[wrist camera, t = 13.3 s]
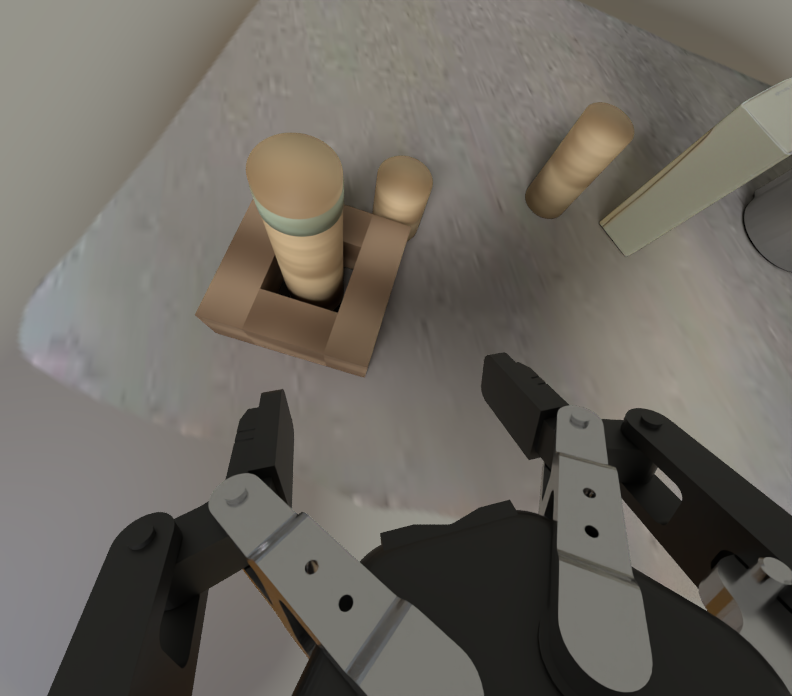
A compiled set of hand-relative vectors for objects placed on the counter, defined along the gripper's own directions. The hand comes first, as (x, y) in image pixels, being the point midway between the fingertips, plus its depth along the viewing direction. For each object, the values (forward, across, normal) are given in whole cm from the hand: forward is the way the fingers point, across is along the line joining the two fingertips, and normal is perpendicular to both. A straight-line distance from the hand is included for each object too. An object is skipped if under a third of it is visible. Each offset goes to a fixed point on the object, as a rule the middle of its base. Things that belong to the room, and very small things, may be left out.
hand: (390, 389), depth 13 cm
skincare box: (+17, -28, 0) cm, 33 cm away
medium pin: (+20, -20, -3) cm, 28 cm away
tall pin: (+15, +2, +1) cm, 15 cm away
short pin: (+19, -5, -3) cm, 20 cm away
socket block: (+15, +2, +1) cm, 15 cm away
